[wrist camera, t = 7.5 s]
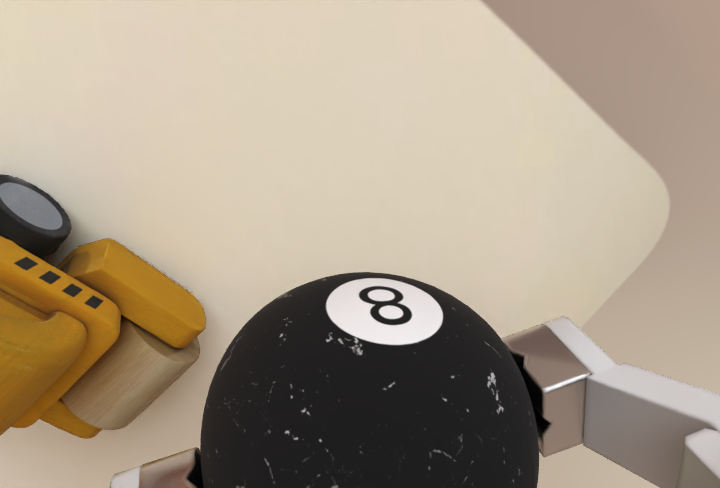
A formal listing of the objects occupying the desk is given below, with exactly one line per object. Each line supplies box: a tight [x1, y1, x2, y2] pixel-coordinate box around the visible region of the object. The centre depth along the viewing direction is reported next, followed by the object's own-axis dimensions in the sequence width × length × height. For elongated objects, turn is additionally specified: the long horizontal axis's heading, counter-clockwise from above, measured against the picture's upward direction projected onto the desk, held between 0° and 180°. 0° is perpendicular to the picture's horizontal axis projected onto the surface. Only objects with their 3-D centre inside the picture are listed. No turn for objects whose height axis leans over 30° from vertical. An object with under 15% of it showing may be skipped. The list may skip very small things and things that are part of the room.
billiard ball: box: [201, 272, 539, 488], centre depth 11 cm, size 6×6×6 cm
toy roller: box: [0, 175, 206, 438], centre depth 26 cm, size 9×14×10 cm, turn 41°
